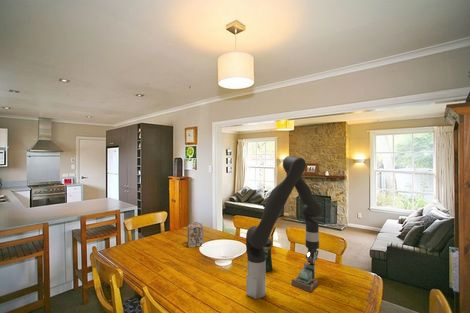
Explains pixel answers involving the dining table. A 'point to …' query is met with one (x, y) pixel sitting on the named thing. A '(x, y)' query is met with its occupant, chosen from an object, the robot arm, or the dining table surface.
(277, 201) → the robot arm
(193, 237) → the decorative jar
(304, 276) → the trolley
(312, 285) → the bay
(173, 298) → the dining table surface
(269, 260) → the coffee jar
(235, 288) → the dining table surface
